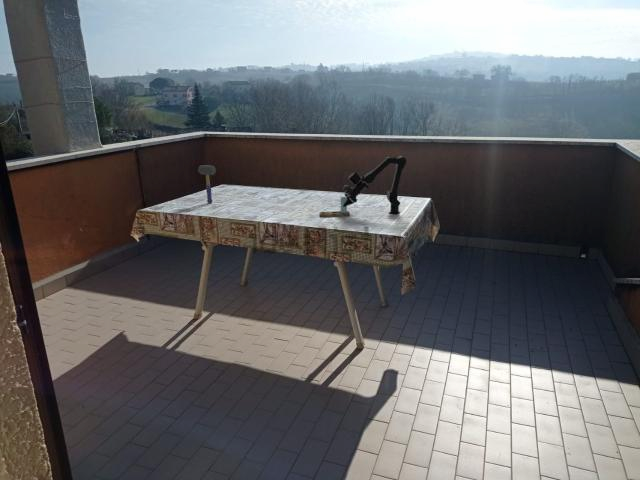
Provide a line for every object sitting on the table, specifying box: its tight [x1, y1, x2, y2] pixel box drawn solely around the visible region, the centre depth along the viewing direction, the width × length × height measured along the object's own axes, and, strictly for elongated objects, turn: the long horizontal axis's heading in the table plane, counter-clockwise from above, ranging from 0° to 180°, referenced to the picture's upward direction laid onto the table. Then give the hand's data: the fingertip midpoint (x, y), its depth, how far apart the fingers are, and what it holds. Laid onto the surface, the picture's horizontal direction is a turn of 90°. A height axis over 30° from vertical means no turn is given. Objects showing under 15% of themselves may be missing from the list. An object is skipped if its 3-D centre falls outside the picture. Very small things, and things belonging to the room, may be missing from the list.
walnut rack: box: [319, 210, 351, 218], centre depth 318 cm, size 20×7×2 cm, turn 96°
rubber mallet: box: [197, 164, 217, 204], centre depth 357 cm, size 12×8×30 cm, turn 66°
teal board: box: [340, 195, 348, 213], centre depth 317 cm, size 4×2×13 cm, turn 96°
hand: (342, 205), depth 316 cm, fingers open, 9 cm apart
